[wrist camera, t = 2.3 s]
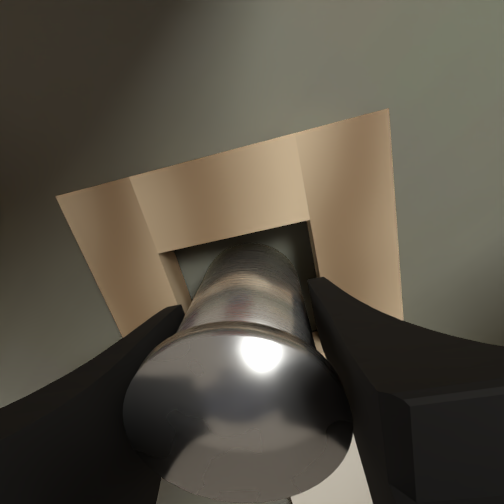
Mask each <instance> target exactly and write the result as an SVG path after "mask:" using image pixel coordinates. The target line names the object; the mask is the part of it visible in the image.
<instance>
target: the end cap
mask: <svg viewBox="0 0 504 504" xmlns="http://www.w3.org/2000/svg"><path fill="white" fill-rule="evenodd" d="M123 422H124V427H125V430H126V434H127V436H128V439H129V441H130V443H131V445H132V447H133V448H134V450H135V451H136V453H137V454H138V455H139V457H140V458H141V459H142V460H143V461H144V463H145V464H146V465H148V466H149V467H150V468H151V469H152V470H153V471H154V472H155V473H157V474H158V475H159V476H161V477H162V478H163V479H165V480H167V481H168V482H170V483H172V484H173V485H175V486H177V487H179V488H181V489H183V490H185V491H188V492H191V493H193V494H196V495H199V496H202V497H206V498H209V499H214V500H219V501H225V502H234V503H262V502H269V501H276V500H280V499H285V498H288V497H292V496H295V495H298V494H300V493H302V492H305V491H307V490H309V489H311V488H313V487H314V486H316V485H318V484H320V483H321V482H322V481H324V480H325V479H326V478H328V477H329V476H330V475H331V474H332V473H333V472H334V471H335V470H336V469H337V468H338V467H339V465H340V464H341V463H342V461H343V460H344V458H345V456H346V454H347V452H348V450H349V448H350V445H351V441H352V437H353V416H352V412H351V408H350V405H349V401H348V398H347V395H346V392H345V389H344V386H343V384H342V382H341V380H340V377H339V375H338V374H337V372H336V371H335V369H334V368H333V366H332V365H331V364H330V362H329V361H328V360H327V359H326V358H325V357H324V356H323V355H322V354H321V353H320V352H319V351H317V350H316V346H315V342H314V338H313V334H312V330H311V326H310V322H309V318H308V314H307V310H306V306H305V303H304V299H303V295H302V291H301V287H300V283H299V279H298V275H297V272H296V270H295V268H294V266H293V265H292V263H291V262H290V260H289V259H288V258H287V257H286V256H285V255H284V254H282V253H281V252H279V251H278V250H276V249H274V248H272V247H270V246H267V245H263V244H258V243H244V244H239V245H235V246H232V247H230V248H228V249H226V250H224V251H223V252H222V253H220V254H219V255H218V256H217V257H216V258H215V259H214V260H213V262H212V263H211V265H210V267H209V269H208V271H207V273H206V275H205V277H204V279H203V281H202V283H201V285H200V287H199V289H198V291H197V293H196V295H195V297H194V299H193V301H192V303H191V305H190V307H189V309H188V311H187V313H186V315H185V317H184V319H183V321H182V323H181V325H180V327H179V329H178V331H177V333H176V334H174V335H173V336H171V337H169V338H167V339H166V340H164V341H163V342H162V343H160V344H159V345H158V346H156V347H155V348H154V349H153V350H152V351H151V352H150V353H149V354H148V356H147V357H146V358H145V360H144V361H143V363H142V364H141V366H140V367H139V369H138V371H137V373H136V374H135V376H134V378H133V379H132V381H131V383H130V385H129V387H128V389H127V391H126V395H125V399H124V402H123Z"/></svg>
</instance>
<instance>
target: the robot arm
mask: <svg viewBox="0 0 504 504" xmlns="http://www.w3.org/2000/svg"><path fill="white" fill-rule="evenodd" d="M308 286H309V291H310V296H311V301H312V306H313V311H314V316H315V322H316V326H317V330H318V334H319V338H320V342H321V345H322V349H323V351H324V354H325V357H326V359H327V360H328V361H329V362H330V364H331V365H332V366H333V368H334V369H335V371H336V372H337V374H338V375H339V377H340V380H341V382H342V384H343V386H344V389H345V392H346V395H347V398H348V401H349V405H350V408H351V412H352V416H353V435H354V438H355V442H356V445H357V449H358V452H359V456H360V459H361V463H362V466H363V470H364V473H365V477H366V480H367V484H368V487H369V491H370V495H371V498H372V502H373V504H504V347H503V346H497V345H491V344H485V343H481V342H476V341H472V340H468V339H463V338H459V337H455V336H451V335H447V334H443V333H440V332H436V331H432V330H429V329H426V328H423V327H420V326H417V325H414V324H411V323H408V322H405V321H402V320H400V319H397V318H395V317H393V316H390V315H388V314H385V313H383V312H381V311H379V310H377V309H374V308H372V307H371V306H369V305H367V304H365V303H363V302H361V301H359V300H358V299H356V298H354V297H353V296H351V295H349V294H348V293H346V292H345V291H343V290H342V289H340V288H339V287H338V286H336V285H335V284H333V283H332V282H331V281H329V280H328V279H326V278H325V277H319V278H314V279H309V280H308ZM184 317H185V313H184V310H183V308H182V305H181V304H180V305H175V306H169V307H166V308H164V309H162V310H161V311H159V312H158V313H156V314H155V315H153V316H152V317H151V318H149V319H148V320H147V321H145V322H144V323H143V324H141V325H140V326H138V327H137V328H136V329H134V330H133V331H132V332H130V333H129V334H128V335H126V336H125V337H124V338H122V339H121V340H119V341H118V342H117V343H115V344H114V345H112V346H111V347H109V348H108V349H107V350H105V351H104V352H102V353H101V354H99V355H98V356H96V357H95V358H93V359H92V360H90V361H89V362H87V363H85V364H84V365H82V366H80V367H79V368H77V369H75V370H74V371H72V372H70V373H69V374H67V375H65V376H64V377H62V378H60V379H58V380H56V381H54V382H52V383H50V384H49V385H47V386H45V387H43V388H41V389H39V390H37V391H35V392H34V393H32V394H30V395H28V396H26V397H24V398H22V399H20V400H17V401H15V402H13V403H11V404H9V405H7V406H5V407H3V408H0V504H156V501H157V496H158V491H159V486H160V481H161V476H159V475H158V474H157V473H155V472H154V471H153V470H152V469H151V468H150V467H149V466H148V465H146V464H145V463H144V461H143V460H142V459H141V458H140V457H139V455H138V454H137V453H136V451H135V450H134V448H133V447H132V445H131V443H130V441H129V439H128V436H127V434H126V430H125V427H124V422H123V402H124V399H125V395H126V391H127V389H128V387H129V385H130V383H131V381H132V379H133V378H134V376H135V374H136V373H137V371H138V369H139V367H140V366H141V364H142V363H143V361H144V360H145V358H146V357H147V356H148V354H149V353H150V352H151V351H152V350H153V349H154V348H155V347H156V346H158V345H159V344H160V343H162V342H163V341H164V340H166V339H167V338H169V337H171V336H173V335H174V334H176V333H177V331H178V329H179V327H180V325H181V323H182V321H183V319H184Z"/></svg>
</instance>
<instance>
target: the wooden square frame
mask: <svg viewBox="0 0 504 504" xmlns="http://www.w3.org/2000/svg"><path fill="white" fill-rule="evenodd" d="M55 197H56V199H57V201H58V203H59V205H60V207H61V209H62V211H63V213H64V215H65V218H66V220H67V222H68V224H69V226H70V228H71V230H72V232H73V234H74V236H75V238H76V241H77V243H78V245H79V247H80V249H81V251H82V253H83V255H84V257H85V259H86V261H87V264H88V266H89V268H90V270H91V272H92V274H93V276H94V278H95V280H96V282H97V284H98V287H99V289H100V291H101V293H102V295H103V297H104V299H105V301H106V303H107V305H108V307H109V310H110V312H111V314H112V316H113V318H114V320H115V322H116V324H117V326H118V328H119V330H120V333H121V335H122V337H123V338H124V337H125V336H126V335H128V334H129V333H130V332H132V331H133V330H134V329H136V328H137V327H138V326H140V325H141V324H143V323H144V322H145V321H147V320H148V319H149V318H151V317H152V316H153V315H155V314H156V313H158V312H159V311H161V310H162V309H164V308H166V307H169V306H175V305H180V304H181V305H182V308H183V310H184V313H185V315H186V313H187V311H188V309H189V307H190V305H191V303H192V300H191V297H190V294H189V291H188V289H187V286H186V283H185V280H184V277H183V275H182V272H181V269H180V266H179V264H178V261H177V258H176V255H175V252H174V250H176V249H181V248H185V247H190V246H194V245H199V244H203V243H208V242H212V241H217V240H221V239H226V238H230V237H235V236H239V235H244V234H248V233H253V232H257V231H262V230H266V229H271V228H276V227H280V226H285V225H289V224H294V223H298V222H303V221H307V227H308V232H309V238H310V243H311V249H312V254H313V260H314V265H315V271H316V276H317V278H319V277H325V278H326V279H328V280H329V281H331V282H332V283H333V284H335V285H336V286H338V287H339V288H340V289H342V290H343V291H345V292H346V293H348V294H349V295H351V296H353V297H354V298H356V299H358V300H359V301H361V302H363V303H365V304H367V305H369V306H371V307H372V308H374V309H377V310H379V311H381V312H383V313H385V314H388V315H390V316H393V317H395V318H397V319H400V320H402V321H403V306H402V292H401V277H400V263H399V248H398V234H397V219H396V205H395V190H394V176H393V161H392V147H391V132H390V118H389V108H388V109H384V110H380V111H377V112H373V113H369V114H365V115H361V116H358V117H354V118H350V119H346V120H342V121H339V122H335V123H331V124H327V125H324V126H320V127H316V128H312V129H308V130H305V131H301V132H297V133H293V134H289V135H286V136H282V137H278V138H274V139H271V140H267V141H263V142H259V143H255V144H252V145H248V146H244V147H240V148H236V149H233V150H229V151H225V152H221V153H218V154H214V155H210V156H206V157H202V158H199V159H195V160H191V161H187V162H184V163H180V164H176V165H172V166H168V167H165V168H161V169H157V170H153V171H149V172H146V173H142V174H138V175H134V176H131V177H127V178H123V179H119V180H115V181H112V182H108V183H104V184H100V185H96V186H93V187H89V188H85V189H81V190H78V191H74V192H70V193H66V194H62V195H59V196H55ZM312 334H313V338H314V342H315V346H316V350H317V351H319V352H320V353H321V354H322V355H323V356H324V357H325V354H324V351H323V349H322V345H321V342H320V338H319V334H318V331H317V332H312ZM325 358H326V357H325Z"/></svg>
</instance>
